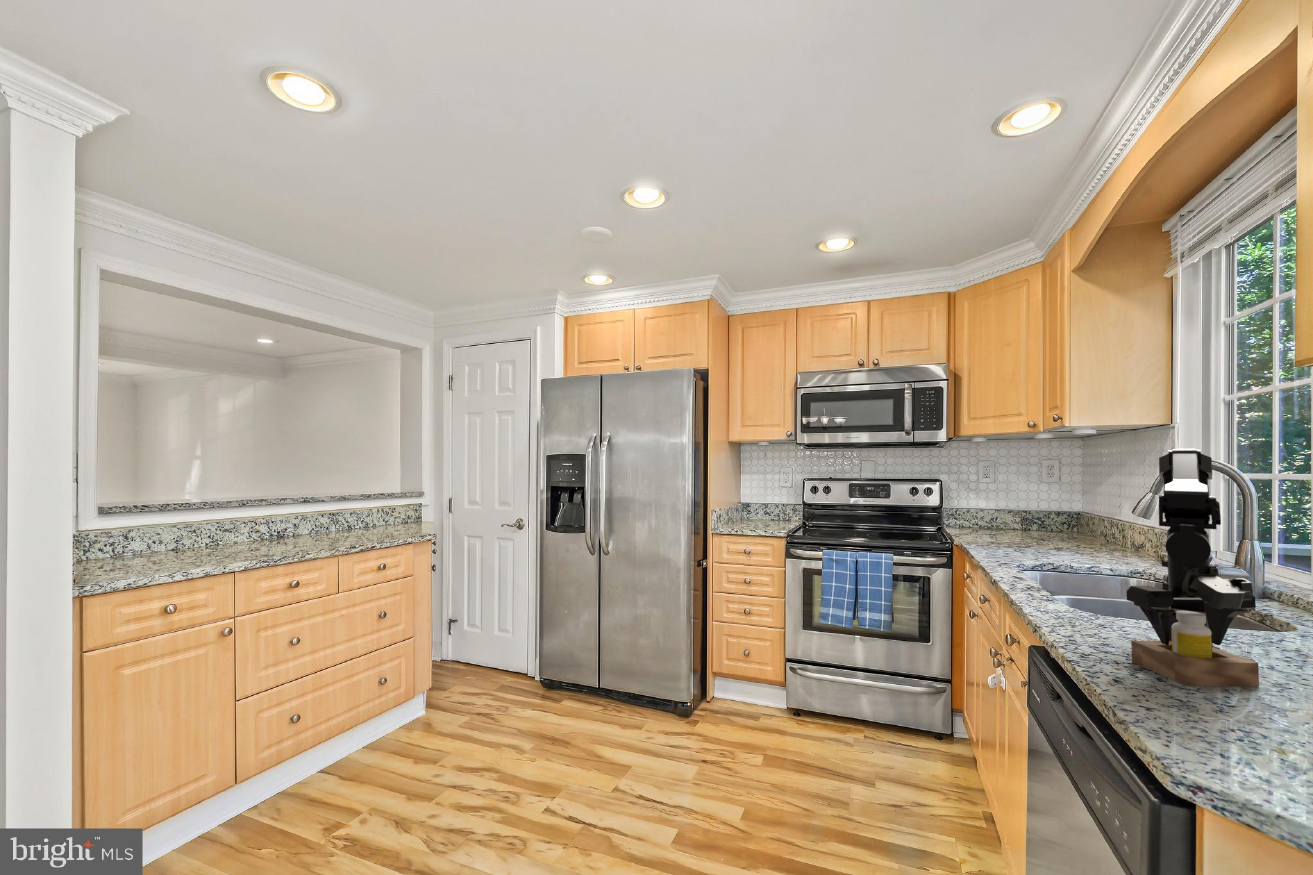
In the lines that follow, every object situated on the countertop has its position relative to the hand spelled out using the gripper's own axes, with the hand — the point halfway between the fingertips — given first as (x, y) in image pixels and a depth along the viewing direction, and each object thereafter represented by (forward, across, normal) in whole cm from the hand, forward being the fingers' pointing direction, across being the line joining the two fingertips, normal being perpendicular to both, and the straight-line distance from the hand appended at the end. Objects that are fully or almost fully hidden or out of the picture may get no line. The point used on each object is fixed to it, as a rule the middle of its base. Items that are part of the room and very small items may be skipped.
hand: (1190, 644), depth 106 cm
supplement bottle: (+4, 0, 0) cm, 4 cm away
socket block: (+5, 0, 0) cm, 5 cm away
